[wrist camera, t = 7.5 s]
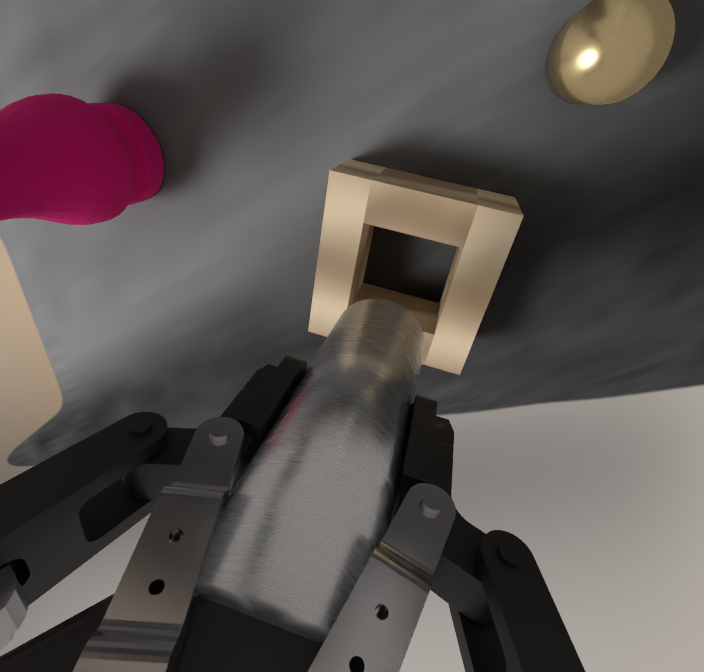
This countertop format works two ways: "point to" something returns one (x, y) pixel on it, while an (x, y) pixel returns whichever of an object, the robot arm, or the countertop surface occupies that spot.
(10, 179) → the pepper mill
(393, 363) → the long pin
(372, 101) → the countertop surface
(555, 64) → the short pin
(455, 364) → the socket block
